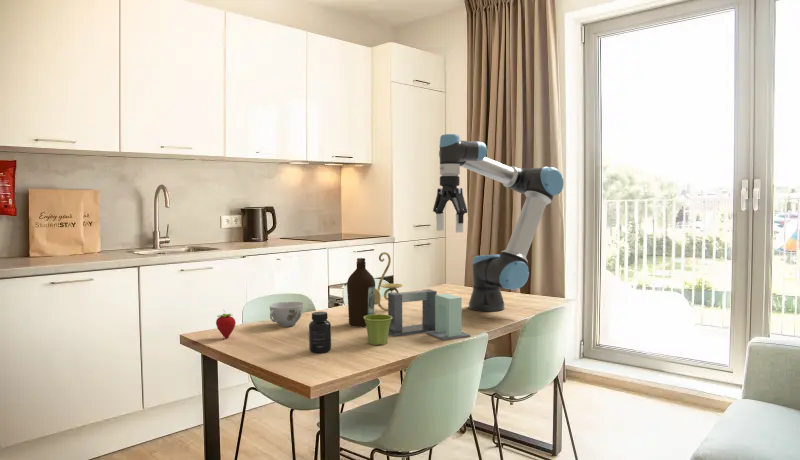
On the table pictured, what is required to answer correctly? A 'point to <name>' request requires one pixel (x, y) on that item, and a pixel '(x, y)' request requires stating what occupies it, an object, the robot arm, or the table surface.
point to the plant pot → (377, 328)
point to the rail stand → (396, 312)
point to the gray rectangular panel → (443, 336)
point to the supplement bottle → (319, 333)
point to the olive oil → (360, 294)
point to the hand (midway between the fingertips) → (449, 231)
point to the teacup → (286, 313)
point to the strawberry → (225, 324)
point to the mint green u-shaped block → (448, 314)
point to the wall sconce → (390, 286)
